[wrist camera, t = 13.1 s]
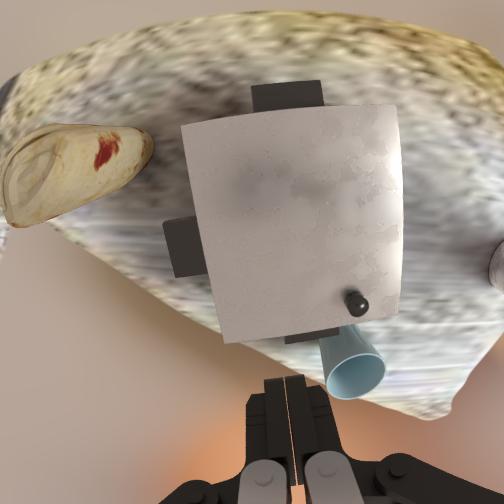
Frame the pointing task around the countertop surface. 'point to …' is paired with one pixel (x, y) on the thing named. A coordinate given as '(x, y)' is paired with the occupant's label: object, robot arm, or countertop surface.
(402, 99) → the countertop surface
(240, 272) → the lid
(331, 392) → the cup
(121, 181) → the food model
